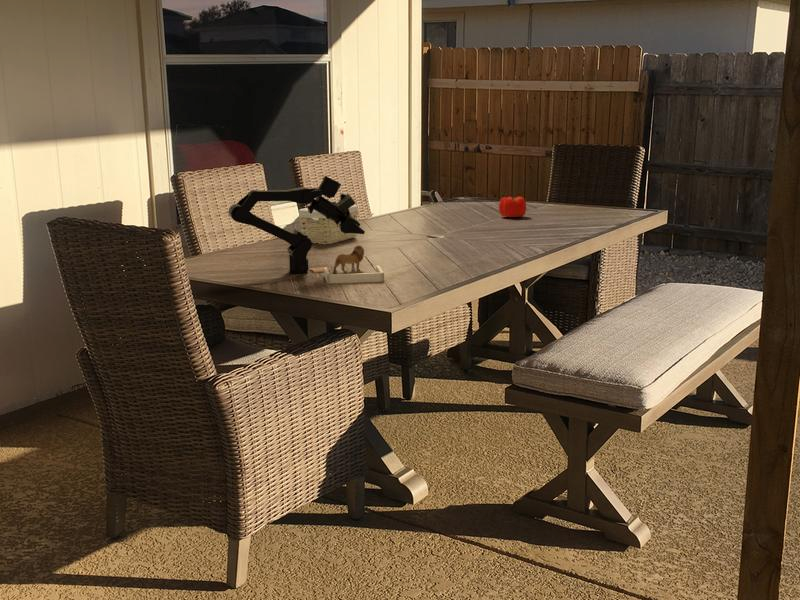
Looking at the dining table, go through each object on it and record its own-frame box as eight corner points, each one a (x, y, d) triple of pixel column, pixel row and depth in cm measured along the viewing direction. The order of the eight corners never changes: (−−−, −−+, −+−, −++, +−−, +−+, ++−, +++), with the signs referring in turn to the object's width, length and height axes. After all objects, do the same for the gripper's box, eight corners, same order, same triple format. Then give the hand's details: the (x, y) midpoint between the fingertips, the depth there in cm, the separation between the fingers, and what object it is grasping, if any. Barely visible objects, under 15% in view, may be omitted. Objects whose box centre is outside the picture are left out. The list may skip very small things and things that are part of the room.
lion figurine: (358, 267, 364) (357, 243, 362) (368, 269, 360) (367, 245, 358) (329, 273, 354) (328, 249, 352) (338, 275, 350) (338, 250, 348)
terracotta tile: (314, 274, 354) (314, 271, 354) (309, 271, 360) (309, 268, 360) (330, 273, 357) (330, 269, 357) (324, 270, 362) (324, 266, 362)
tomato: (526, 215, 491) (526, 195, 489) (525, 219, 479) (526, 198, 476) (499, 215, 493) (499, 195, 491) (498, 219, 480) (498, 198, 478)
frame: (327, 283, 336) (326, 275, 336) (324, 275, 350) (323, 267, 349) (384, 281, 339) (384, 273, 338) (378, 273, 353) (378, 265, 352)
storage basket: (327, 246, 410) (326, 211, 407) (297, 242, 419) (296, 208, 415) (360, 237, 430) (359, 204, 426) (330, 234, 438) (330, 202, 435)
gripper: (343, 197, 344) (378, 218, 350) (335, 183, 361) (369, 204, 367) (326, 223, 347) (362, 244, 353) (319, 208, 363) (353, 228, 369)
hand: (362, 229), depth 360 cm, fingers open, 9 cm apart
